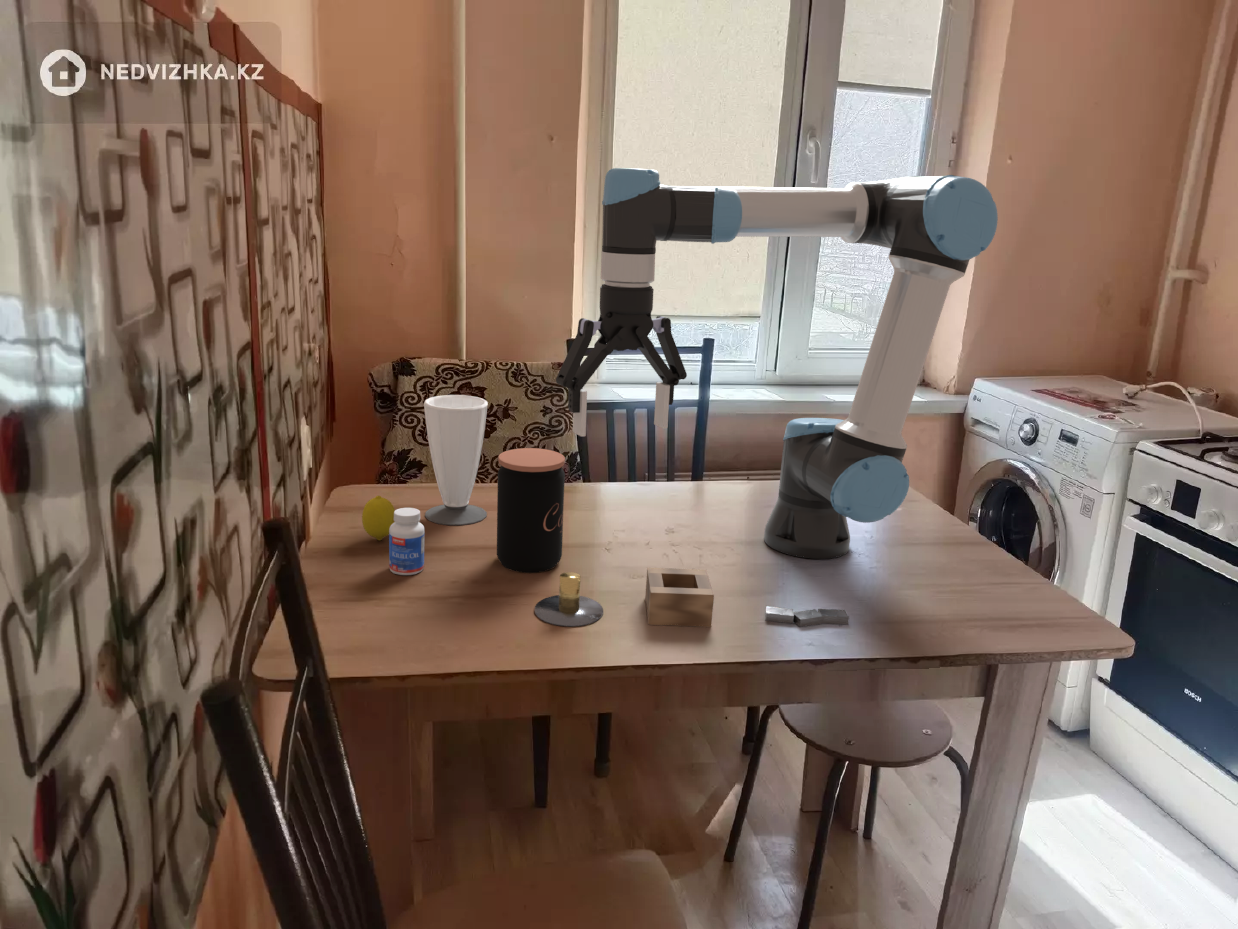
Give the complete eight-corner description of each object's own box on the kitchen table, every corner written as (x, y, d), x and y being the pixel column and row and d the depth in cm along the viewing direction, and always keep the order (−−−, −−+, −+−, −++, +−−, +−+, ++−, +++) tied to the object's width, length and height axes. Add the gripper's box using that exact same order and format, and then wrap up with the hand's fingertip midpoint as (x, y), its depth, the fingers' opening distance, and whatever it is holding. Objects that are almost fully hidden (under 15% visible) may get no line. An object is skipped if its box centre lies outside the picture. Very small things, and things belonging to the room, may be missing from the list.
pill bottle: (387, 576, 142) (386, 517, 139) (390, 563, 147) (389, 505, 145) (423, 576, 143) (423, 517, 140) (425, 562, 148) (425, 505, 145)
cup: (481, 503, 177) (482, 394, 171) (492, 523, 167) (493, 408, 161) (421, 506, 174) (419, 395, 167) (428, 527, 163) (427, 409, 157)
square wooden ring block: (703, 600, 140) (706, 569, 138) (711, 626, 131) (714, 594, 130) (645, 597, 139) (647, 567, 138) (648, 624, 131) (650, 592, 129)
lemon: (356, 542, 155) (354, 497, 153) (376, 532, 160) (374, 488, 158) (383, 548, 153) (382, 503, 151) (402, 537, 158) (402, 494, 156)
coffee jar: (551, 578, 145) (555, 469, 140) (487, 569, 147) (488, 462, 142) (568, 554, 155) (572, 451, 150) (508, 546, 157) (510, 445, 152)
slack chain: (843, 616, 137) (844, 608, 137) (850, 628, 133) (851, 621, 133) (762, 613, 136) (763, 605, 136) (767, 625, 132) (768, 618, 132)
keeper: (602, 597, 139) (604, 564, 137) (603, 627, 129) (605, 592, 128) (536, 595, 138) (537, 561, 137) (532, 625, 129) (533, 589, 127)
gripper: (688, 280, 137) (679, 417, 143) (534, 281, 126) (532, 431, 132) (716, 285, 131) (705, 429, 137) (557, 287, 119) (553, 444, 126)
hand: (620, 430), depth 134 cm, fingers open, 13 cm apart
